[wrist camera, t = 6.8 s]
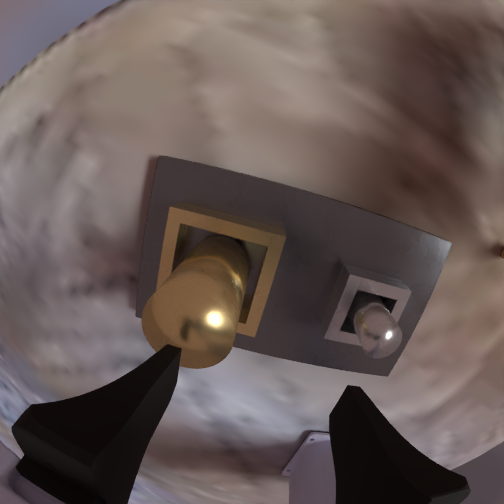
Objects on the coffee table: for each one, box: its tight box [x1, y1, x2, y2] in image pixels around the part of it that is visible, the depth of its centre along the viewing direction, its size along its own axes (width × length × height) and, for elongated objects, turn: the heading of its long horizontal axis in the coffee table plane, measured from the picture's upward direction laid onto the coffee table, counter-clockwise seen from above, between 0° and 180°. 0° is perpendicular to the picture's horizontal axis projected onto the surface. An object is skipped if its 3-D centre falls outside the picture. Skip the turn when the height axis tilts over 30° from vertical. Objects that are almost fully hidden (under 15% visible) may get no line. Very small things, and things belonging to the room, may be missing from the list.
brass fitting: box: [142, 236, 250, 369], centre depth 15 cm, size 4×4×8 cm
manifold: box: [136, 156, 452, 377], centre depth 17 cm, size 12×21×6 cm, turn 76°
